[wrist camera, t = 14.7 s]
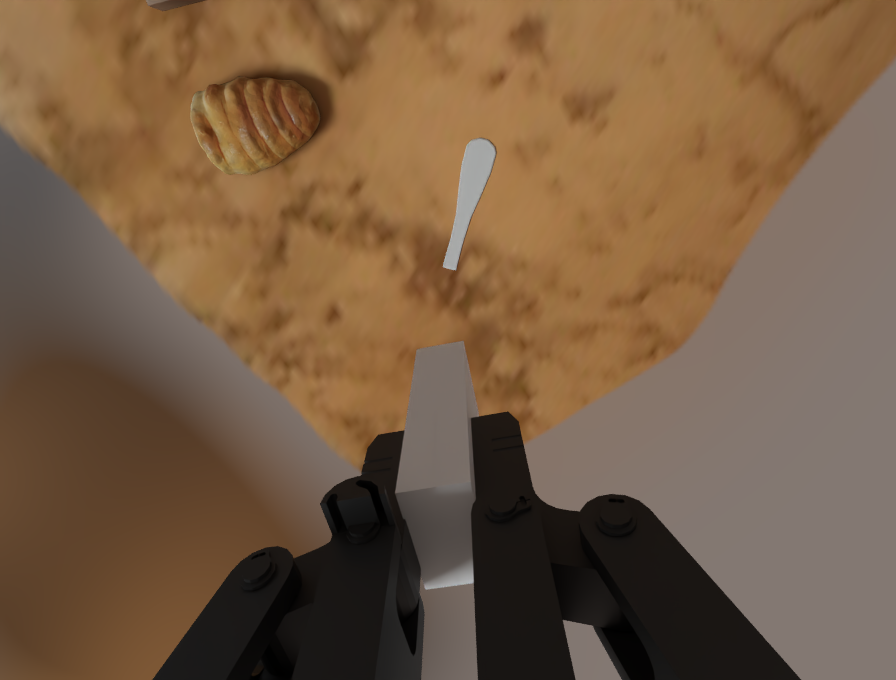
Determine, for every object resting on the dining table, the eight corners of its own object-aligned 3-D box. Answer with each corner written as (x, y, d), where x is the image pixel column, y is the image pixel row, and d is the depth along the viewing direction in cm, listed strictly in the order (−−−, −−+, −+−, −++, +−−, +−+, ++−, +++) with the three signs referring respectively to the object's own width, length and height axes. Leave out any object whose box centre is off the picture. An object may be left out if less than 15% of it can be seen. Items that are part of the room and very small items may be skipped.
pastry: (303, 58, 38) (288, 52, 35) (335, 148, 41) (324, 151, 37) (193, 95, 39) (168, 94, 36) (231, 180, 42) (212, 187, 38)
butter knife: (503, 143, 40) (468, 133, 40) (432, 390, 50) (404, 383, 50) (503, 143, 41) (468, 133, 40) (432, 388, 50) (404, 381, 50)
